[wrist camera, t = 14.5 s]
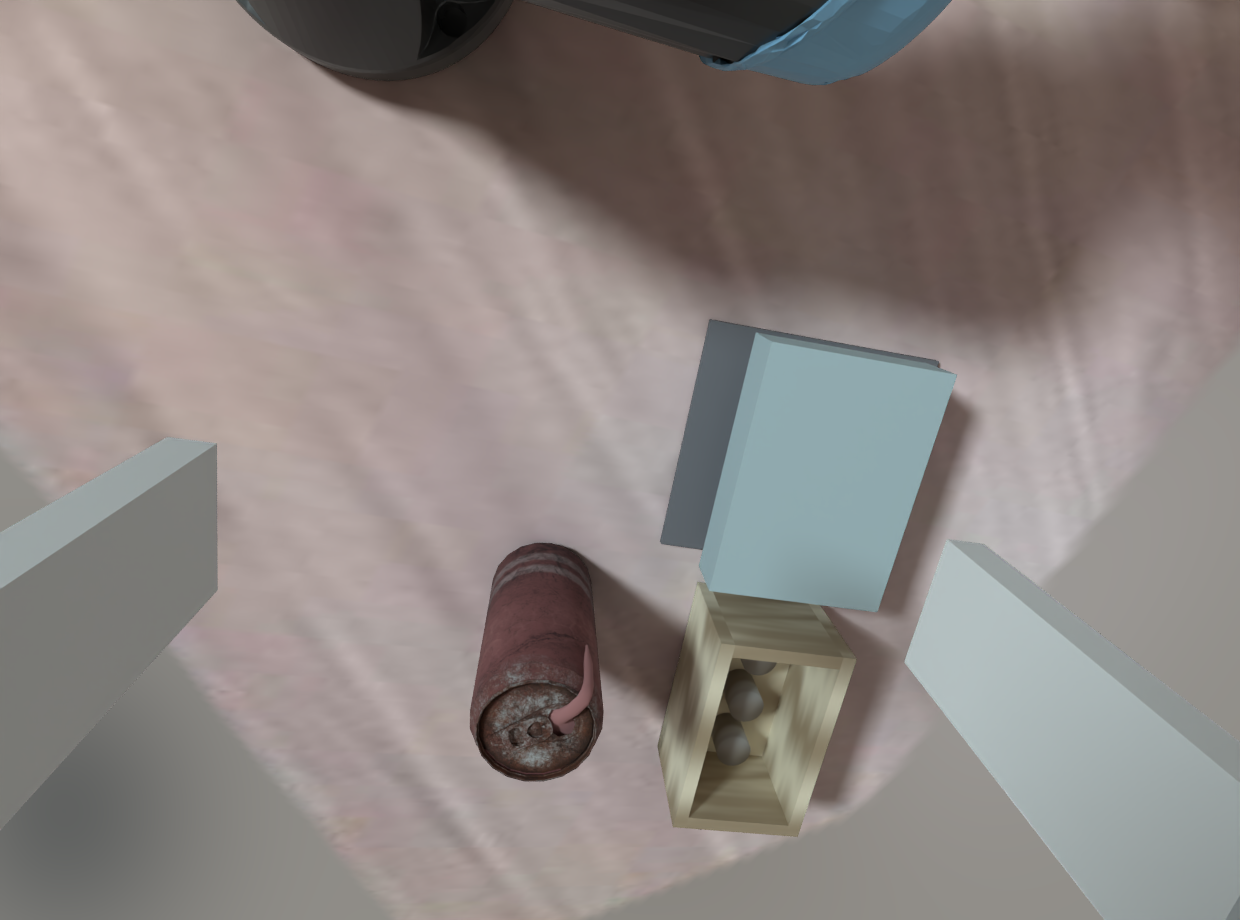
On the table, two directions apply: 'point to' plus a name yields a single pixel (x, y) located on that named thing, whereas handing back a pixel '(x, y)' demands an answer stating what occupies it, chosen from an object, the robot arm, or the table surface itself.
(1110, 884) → the robot arm
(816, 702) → the crate
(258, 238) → the table surface
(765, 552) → the lid
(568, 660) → the can
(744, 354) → the mat
